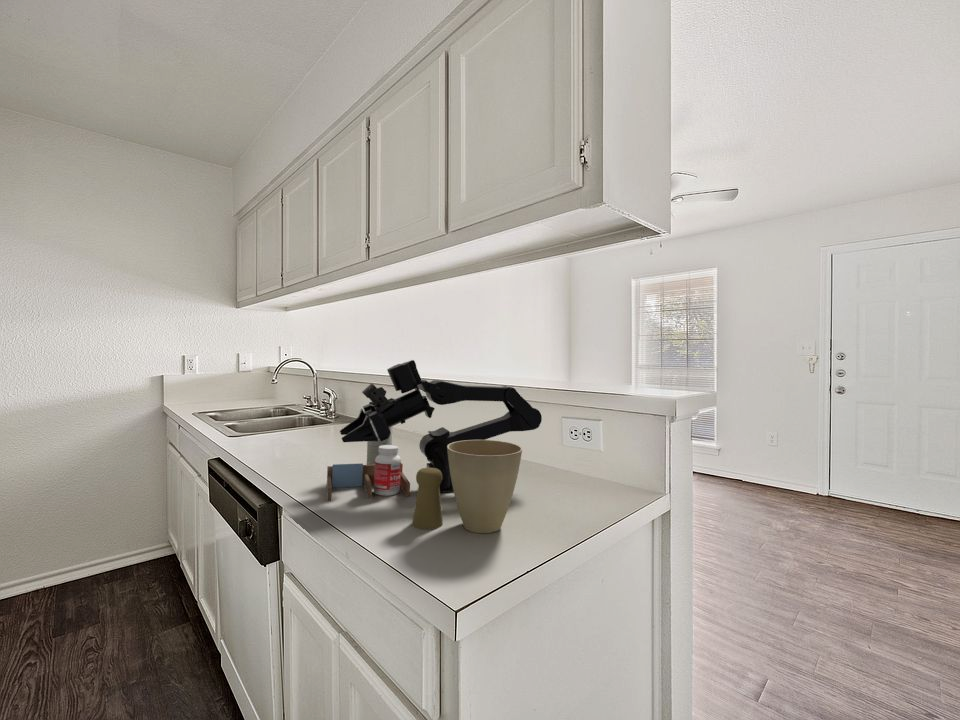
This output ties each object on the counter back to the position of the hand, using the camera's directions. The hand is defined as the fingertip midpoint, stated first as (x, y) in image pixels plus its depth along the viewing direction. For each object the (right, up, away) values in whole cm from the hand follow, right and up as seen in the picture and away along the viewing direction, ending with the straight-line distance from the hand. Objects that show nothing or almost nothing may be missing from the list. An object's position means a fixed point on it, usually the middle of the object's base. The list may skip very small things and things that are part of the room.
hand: (341, 436), depth 107 cm
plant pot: (+33, -16, -16) cm, 39 cm away
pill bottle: (+10, -14, +4) cm, 18 cm away
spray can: (+4, -14, +19) cm, 24 cm away
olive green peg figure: (+22, -15, -15) cm, 31 cm away
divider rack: (+5, -14, +4) cm, 15 cm away
